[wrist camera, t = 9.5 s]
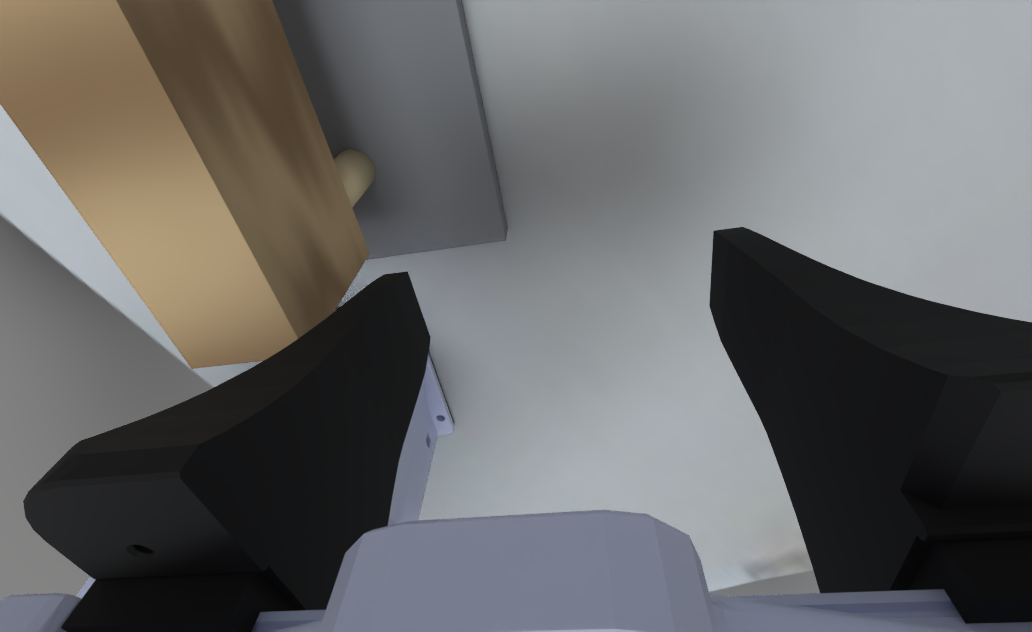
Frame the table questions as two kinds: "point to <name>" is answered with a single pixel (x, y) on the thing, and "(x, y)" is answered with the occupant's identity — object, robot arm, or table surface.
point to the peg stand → (400, 118)
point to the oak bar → (188, 162)
